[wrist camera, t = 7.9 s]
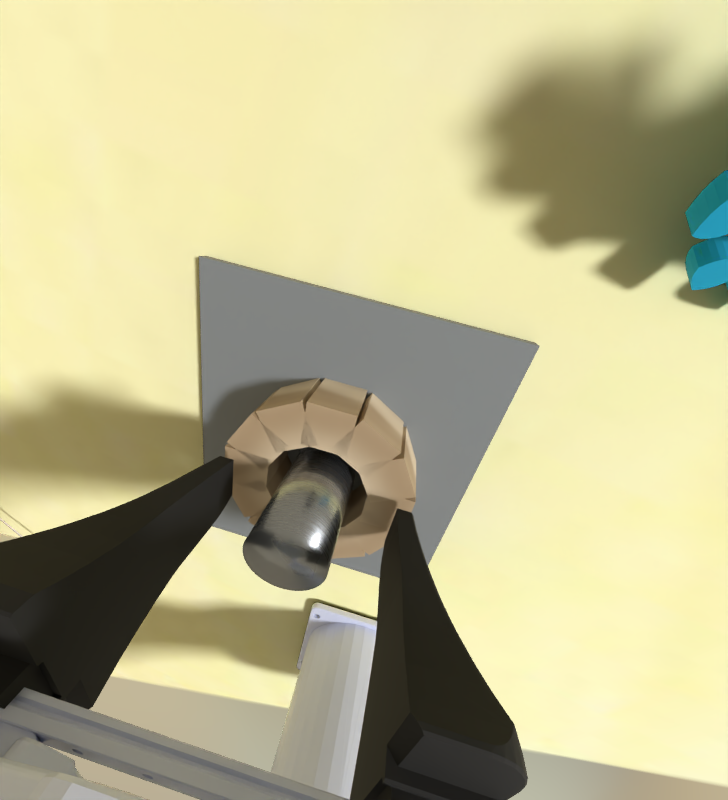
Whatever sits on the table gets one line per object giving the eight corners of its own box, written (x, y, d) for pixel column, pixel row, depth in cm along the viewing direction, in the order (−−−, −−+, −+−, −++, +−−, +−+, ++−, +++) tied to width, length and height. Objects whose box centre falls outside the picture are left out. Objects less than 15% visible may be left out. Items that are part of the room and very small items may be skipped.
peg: (352, 487, 16) (319, 600, 11) (298, 470, 16) (240, 574, 11) (365, 442, 15) (336, 546, 10) (307, 424, 15) (246, 517, 10)
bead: (388, 536, 17) (384, 577, 15) (248, 493, 18) (223, 528, 16) (437, 409, 14) (441, 439, 11) (257, 359, 14) (226, 378, 12)
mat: (415, 581, 19) (416, 588, 19) (209, 518, 20) (205, 523, 20) (535, 342, 12) (539, 345, 12) (206, 256, 13) (198, 256, 12)
